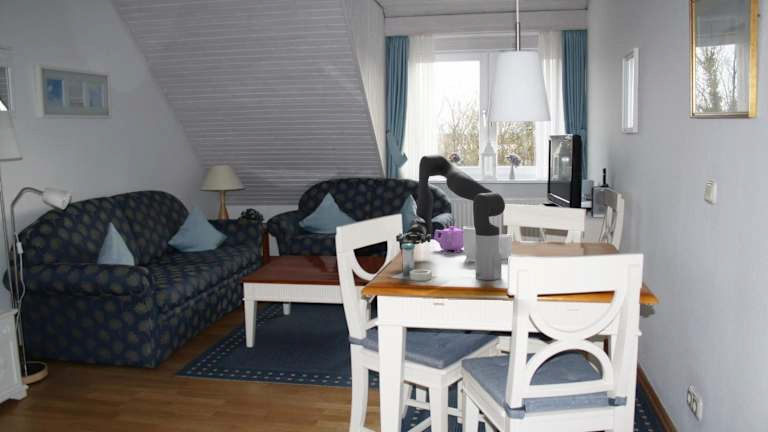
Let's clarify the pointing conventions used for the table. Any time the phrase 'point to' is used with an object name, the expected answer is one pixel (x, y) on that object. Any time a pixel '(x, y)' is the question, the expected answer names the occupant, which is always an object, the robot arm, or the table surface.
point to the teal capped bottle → (408, 258)
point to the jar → (469, 243)
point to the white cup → (505, 245)
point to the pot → (450, 239)
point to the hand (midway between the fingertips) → (411, 240)
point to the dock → (417, 275)
